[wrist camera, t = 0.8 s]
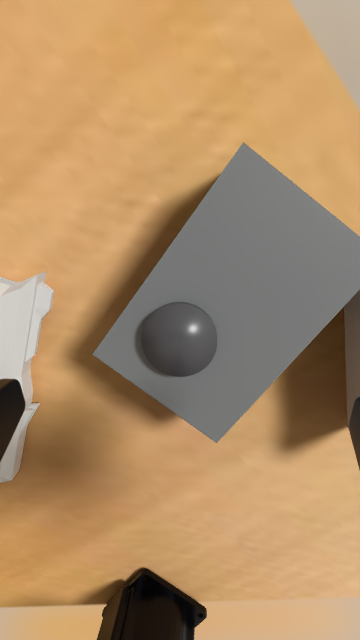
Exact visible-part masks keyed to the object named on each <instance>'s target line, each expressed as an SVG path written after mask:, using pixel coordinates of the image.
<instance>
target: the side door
mask: <svg viewBox="0 0 360 640" xmlns="http://www.w3.org/2000/svg"><path fill="white" fill-rule="evenodd" d="M344 325H345V358H346V392H347V425H348V428H349V420H350V417H351V413H352V409H353V405H354V401H355V399H356V398H357V397H360V290H359V291H358V292H357V293H356V294H355V295H354V296H353V297H352V298H351V299H350V301H349V302H348V303H347V304H346V305H345V306H344Z"/></svg>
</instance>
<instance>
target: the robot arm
mask: <svg viewBox="0 0 360 640" xmlns="http://www.w3.org/2000/svg"><path fill="white" fill-rule="evenodd" d="M25 406H26V403H25V399H24V395H23V392H22V388H21V385H20V382H19V381H18V380H16V379H7V378H4V379H0V462H1V460H2V458H3V456H4V454H5V452H6V450H7V448H8V445H9V443H10V441H11V439H12V437H13V435H14V432H15V430H16V428H17V426H18V424H19V422H20V419H21V417H22V415H23V413H24V410H25ZM349 431H350V435H351V439H352V442H353V446H354V450H355V454H356V458H357V462H358V466H359V469H360V397H357V398H356V399H355V401H354V405H353V409H352V413H351V417H350V420H349ZM206 613H207V610H206V608H205V607H204V606H202V605H201V604H199V603H198V602H196V601H195V600H193V599H192V598H190V597H189V596H187V595H186V594H184V593H183V592H181V591H180V590H178V589H177V588H175V587H174V586H172V585H171V584H169V583H168V582H166V581H165V580H163V579H162V578H160V577H159V576H157V575H156V574H154V573H152V572H151V571H149V570H147V569H144V570H141V571H140V572H139V573H138V574H137V575H136V576H135V577H134V578H133V579H132V580H131V581H130V582H129V583H128V584H127V585H125V586H123V587H122V588H121V589H120V590H119V591H118V592H117V593H116V594H115V595H114V596H113V597H112V598H111V599H110V600H109V601H108V603H107V606H106V607H105V608H104V609H103V613H102V617H103V620H102V624H101V627H100V631H99V634H98V638H97V640H194V628H195V627H196V626H197V625H199V624H200V623H201V622H202V621H203V620H204V619H205V618H206V615H207V614H206Z"/></svg>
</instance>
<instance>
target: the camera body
mask: <svg viewBox="0 0 360 640" xmlns="http://www.w3.org/2000/svg"><path fill="white" fill-rule="evenodd" d="M359 290H360V236H358V235H357V234H356V233H355V232H354V231H352V230H351V229H350V228H349V227H347V226H346V225H345V224H344V223H342V222H341V221H340V220H339V219H337V218H336V217H335V216H334V215H333V214H331V213H330V212H329V211H328V210H326V209H325V208H324V207H323V206H321V205H320V204H319V203H318V202H317V201H315V200H314V199H313V198H312V197H310V196H309V195H308V194H307V193H305V192H304V191H303V190H302V189H300V188H299V187H298V186H297V185H296V184H294V183H293V182H292V181H291V180H289V179H288V178H287V177H286V176H284V175H283V174H282V173H281V172H280V171H278V170H277V169H276V168H275V167H273V166H272V165H271V164H270V163H268V162H267V161H266V160H265V159H263V158H262V157H261V156H260V155H259V154H257V153H256V152H255V151H254V150H252V149H251V148H250V147H249V146H247V145H246V144H245V143H244V142H243V144H242V145H241V146H240V148H239V149H238V151H237V152H236V153H235V155H234V156H233V158H232V159H231V160H230V162H229V163H228V165H227V166H226V167H225V169H224V170H223V172H222V173H221V174H220V176H219V177H218V179H217V180H216V181H215V183H214V184H213V186H212V187H211V189H210V190H209V191H208V193H207V194H206V196H205V197H204V198H203V200H202V201H201V203H200V204H199V205H198V207H197V208H196V210H195V211H194V212H193V214H192V215H191V217H190V218H189V219H188V221H187V222H186V224H185V225H184V226H183V228H182V229H181V231H180V232H179V233H178V235H177V236H176V238H175V239H174V241H173V242H172V243H171V245H170V246H169V248H168V249H167V250H166V252H165V253H164V255H163V256H162V257H161V259H160V260H159V262H158V263H157V264H156V266H155V267H154V269H153V270H152V271H151V273H150V274H149V276H148V277H147V278H146V280H145V281H144V283H143V284H142V285H141V287H140V288H139V290H138V291H137V293H136V294H135V295H134V297H133V298H132V300H131V301H130V302H129V304H128V305H127V307H126V308H125V309H124V311H123V312H122V314H121V315H120V316H119V318H118V319H117V321H116V322H115V323H114V325H113V326H112V328H111V329H110V330H109V332H108V333H107V335H106V336H105V337H104V339H103V340H102V342H101V343H100V345H99V346H98V347H97V349H96V350H95V352H94V353H93V354H92V355H94V356H95V357H97V358H98V359H99V360H101V361H102V362H104V363H105V364H106V365H108V366H109V367H111V368H112V369H113V370H115V371H116V372H118V373H119V374H120V375H122V376H123V377H125V378H126V379H127V380H129V381H130V382H132V383H133V384H134V385H136V386H137V387H139V388H140V389H141V390H143V391H144V392H146V393H147V394H149V395H150V396H151V397H153V398H154V399H156V400H157V401H158V402H160V403H161V404H163V405H164V406H165V407H167V408H168V409H170V410H171V411H172V412H174V413H175V414H177V415H178V416H179V417H181V418H182V419H184V420H185V421H186V422H188V423H189V424H191V425H192V426H193V427H195V428H196V429H198V430H199V431H200V432H202V433H203V434H205V435H206V436H207V437H209V438H210V439H212V440H213V441H214V442H216V443H217V442H218V441H219V440H220V439H221V438H222V437H223V436H224V435H225V434H226V433H227V431H228V430H229V429H230V428H231V427H232V426H233V425H234V424H235V423H236V422H237V421H238V420H239V419H240V417H241V416H242V415H243V414H244V413H245V412H246V411H247V410H248V409H249V408H250V407H251V406H252V405H253V404H254V402H255V401H256V400H257V399H258V398H259V397H260V396H261V395H262V394H263V393H264V392H265V391H266V390H267V389H268V387H269V386H270V385H271V384H272V383H273V382H274V381H275V380H276V379H277V378H278V377H279V376H280V375H281V373H282V372H283V371H284V370H285V369H286V368H287V367H288V366H289V365H290V364H291V363H292V362H293V361H294V360H295V358H296V357H297V356H298V355H299V354H300V353H301V352H302V351H303V350H304V349H305V348H306V347H307V346H308V345H309V343H310V342H311V341H312V340H313V339H314V338H315V337H316V336H317V335H318V334H319V333H320V332H321V331H322V329H323V328H324V327H325V326H326V325H327V324H328V323H329V322H330V321H331V320H332V319H333V318H334V317H335V316H336V314H337V313H338V312H339V311H340V310H341V309H342V308H343V307H344V306H345V305H346V304H347V303H348V302H349V301H350V299H351V298H352V297H353V296H354V295H355V294H356V293H357V292H358V291H359Z"/></svg>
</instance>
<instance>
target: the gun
mask: <svg viewBox="0 0 360 640" xmlns="http://www.w3.org/2000/svg"><path fill="white" fill-rule="evenodd" d="M46 272H47V271H46ZM46 272H43V273H41V274H38V275H35V276H33V277H31V278H28V279H26V280H23V281H21V282H19V283H17V282H14V281H11V280H8V279H5V278H2V277H0V379H4V378H7V379H16V380H18V381H19V382H20V385H21V388H22V392H23V395H24V399H25V403H26V406H25V410H24V413H23V415H22V417H21V419H20V422H19V424H18V426H17V428H16V430H15V432H14V435H13V437H12V439H11V441H10V443H9V445H8V448H7V450H6V452H5V454H4V456H3V458H2V460H1V462H0V482H6V481H11V480H12V479H13V478H14V476H15V475H16V474H17V473H18V471H19V470H20V465H21V459H22V453H23V448H24V442H25V436H26V431H27V426H28V424H29V422H30V420H31V419H32V417H33V415H34V413H35V412H36V410H37V408H38V406H39V404H40V403H32V397H33V388H32V380H31V371H30V366H31V360H32V357H33V356H34V355H35V354H36V353H37V347H38V341H39V336H40V330H41V324H42V319H43V317H44V316H45V315H46V314H47V313H48V312H49V311H50V310H51V307H52V302H53V296H54V290H53V289H51V288H50V287H49V286H48V285H47V284H45V278H46Z"/></svg>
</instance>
